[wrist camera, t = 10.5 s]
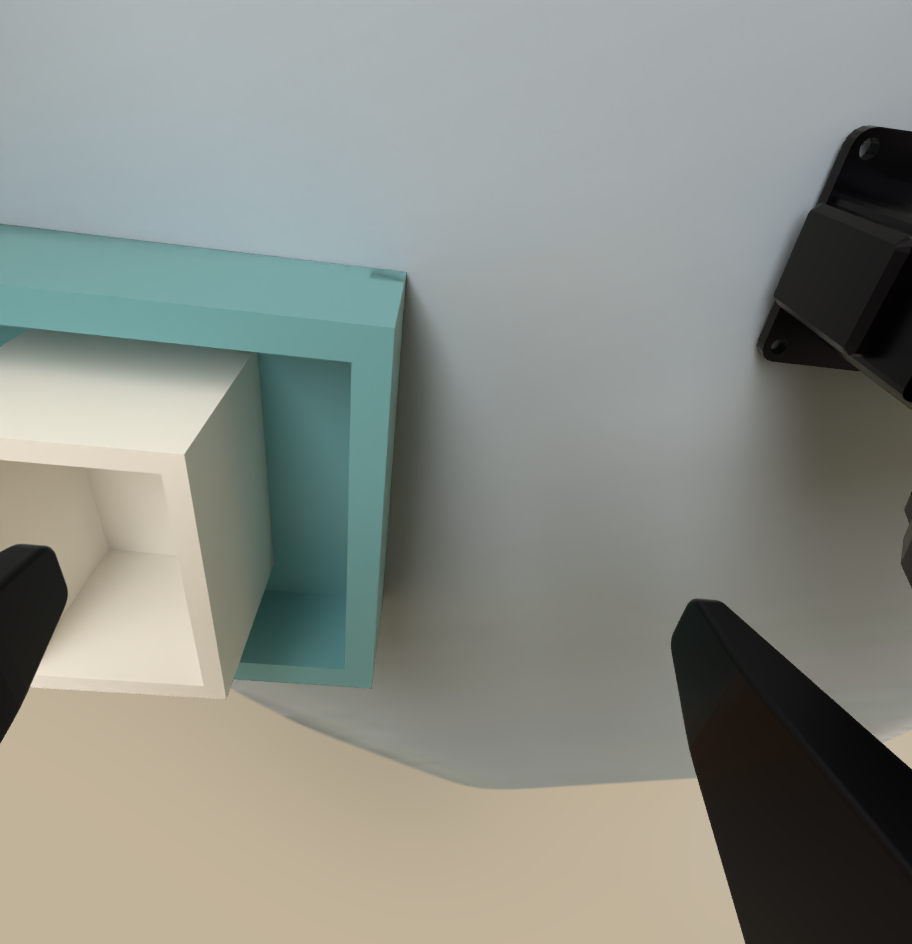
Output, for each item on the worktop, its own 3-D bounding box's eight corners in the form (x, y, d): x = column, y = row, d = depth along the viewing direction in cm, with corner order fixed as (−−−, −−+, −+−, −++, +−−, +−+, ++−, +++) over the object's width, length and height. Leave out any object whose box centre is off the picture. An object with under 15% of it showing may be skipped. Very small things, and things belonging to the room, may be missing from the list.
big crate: (406, 272, 18) (394, 328, 14) (383, 598, 26) (371, 688, 22) (-128, 208, 17) (-293, 251, 13) (20, 569, 25) (-57, 659, 21)
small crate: (256, 346, 18) (184, 454, 13) (274, 563, 23) (226, 699, 18) (37, 323, 18) (-125, 426, 13) (103, 549, 23) (7, 685, 18)
